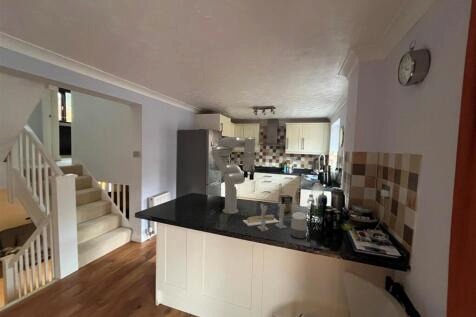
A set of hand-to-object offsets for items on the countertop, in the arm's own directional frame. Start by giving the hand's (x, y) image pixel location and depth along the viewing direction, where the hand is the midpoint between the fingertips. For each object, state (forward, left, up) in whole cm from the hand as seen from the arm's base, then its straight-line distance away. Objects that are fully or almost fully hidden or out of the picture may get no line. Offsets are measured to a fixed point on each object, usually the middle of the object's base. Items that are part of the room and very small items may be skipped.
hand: (248, 178), depth 149 cm
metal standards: (+18, +10, -30) cm, 37 cm away
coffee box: (+2, +31, -31) cm, 44 cm away
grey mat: (+6, +8, -30) cm, 32 cm away
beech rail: (+6, +8, -30) cm, 31 cm away
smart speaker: (+35, +18, -31) cm, 50 cm away
